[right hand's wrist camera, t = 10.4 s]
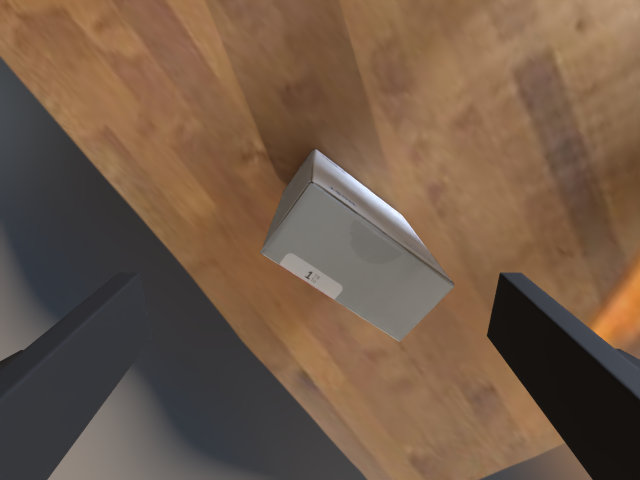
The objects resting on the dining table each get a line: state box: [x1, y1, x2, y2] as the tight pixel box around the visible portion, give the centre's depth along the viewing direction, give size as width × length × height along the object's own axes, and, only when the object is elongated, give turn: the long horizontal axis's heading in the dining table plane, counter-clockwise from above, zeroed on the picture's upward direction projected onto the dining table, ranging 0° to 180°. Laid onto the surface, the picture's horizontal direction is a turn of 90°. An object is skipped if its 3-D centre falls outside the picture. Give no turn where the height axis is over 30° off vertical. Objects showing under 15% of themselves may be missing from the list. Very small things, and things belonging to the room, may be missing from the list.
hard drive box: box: [260, 149, 454, 341], centre depth 38 cm, size 16×8×20 cm, turn 54°
